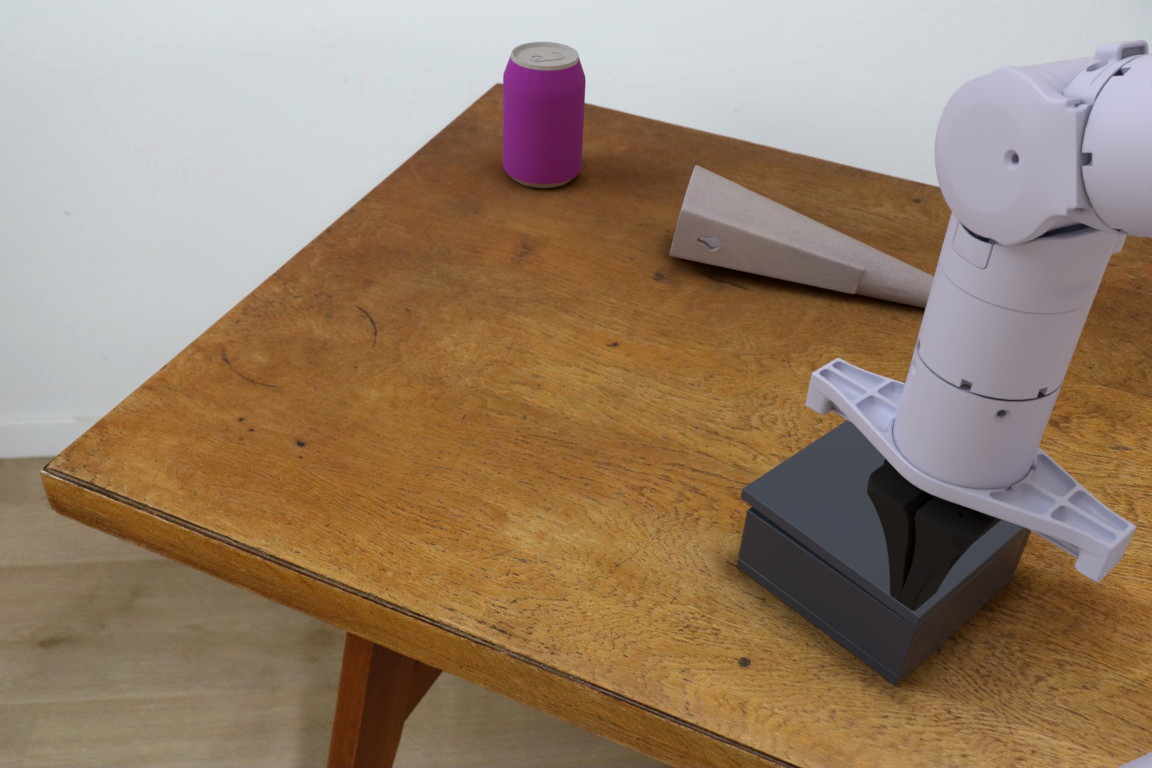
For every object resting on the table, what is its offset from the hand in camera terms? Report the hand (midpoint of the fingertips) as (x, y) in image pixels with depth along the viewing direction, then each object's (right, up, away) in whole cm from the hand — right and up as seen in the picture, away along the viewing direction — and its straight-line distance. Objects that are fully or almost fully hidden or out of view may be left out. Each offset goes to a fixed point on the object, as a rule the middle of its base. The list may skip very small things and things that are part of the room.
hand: (913, 593), depth 52 cm
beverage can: (-19, +30, +56) cm, 67 cm away
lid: (+2, +3, +12) cm, 13 cm away
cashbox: (+2, -2, +15) cm, 15 cm away
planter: (+5, +19, +43) cm, 48 cm away
